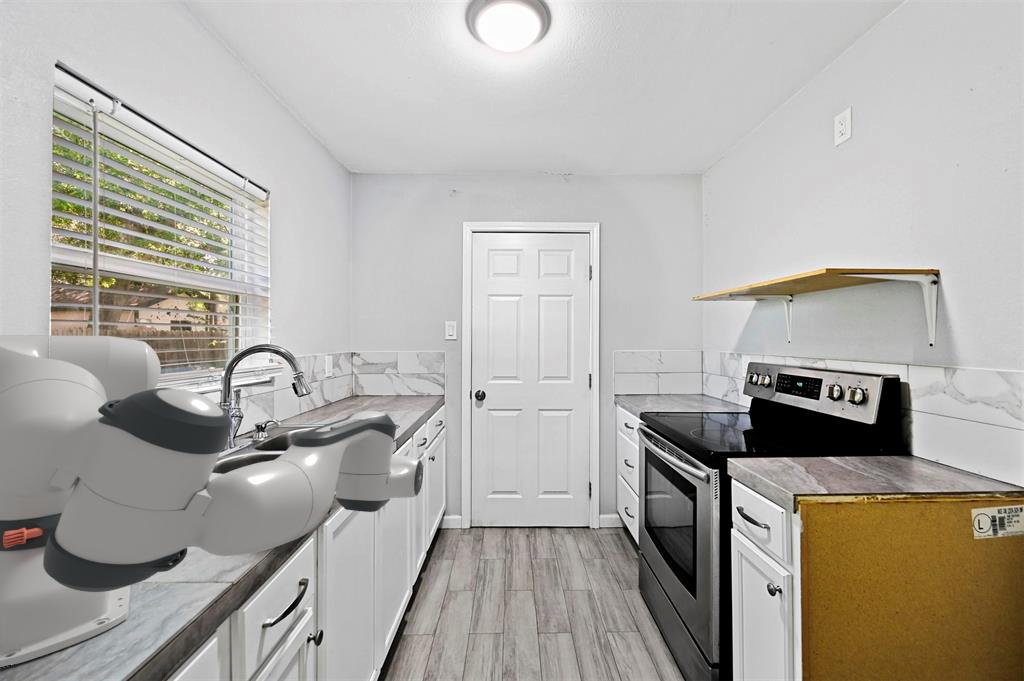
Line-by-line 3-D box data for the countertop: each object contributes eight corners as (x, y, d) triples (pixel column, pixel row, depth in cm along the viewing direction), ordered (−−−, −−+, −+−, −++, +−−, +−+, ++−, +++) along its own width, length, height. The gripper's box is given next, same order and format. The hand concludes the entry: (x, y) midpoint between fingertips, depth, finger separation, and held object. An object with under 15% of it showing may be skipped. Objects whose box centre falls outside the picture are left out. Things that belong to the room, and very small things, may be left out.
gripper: (319, 504, 86) (257, 498, 89) (375, 473, 106) (322, 469, 109) (320, 471, 86) (258, 466, 89) (375, 447, 106) (323, 443, 109)
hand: (294, 468), depth 99 cm, fingers closed
